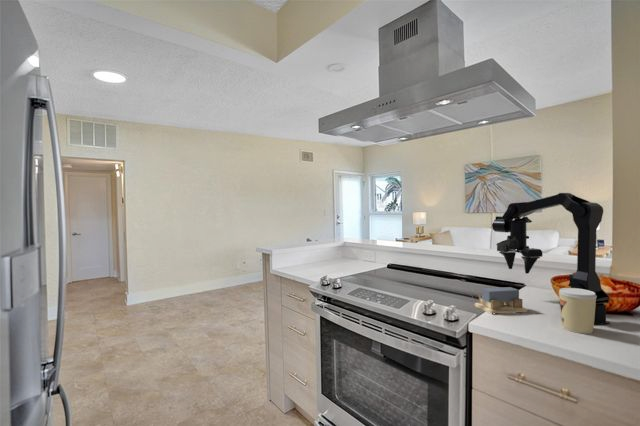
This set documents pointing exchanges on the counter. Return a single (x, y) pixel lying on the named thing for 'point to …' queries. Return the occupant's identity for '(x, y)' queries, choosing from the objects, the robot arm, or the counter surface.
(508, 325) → the counter surface
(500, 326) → the counter surface
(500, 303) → the display stand
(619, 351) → the counter surface
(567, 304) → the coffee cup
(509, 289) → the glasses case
